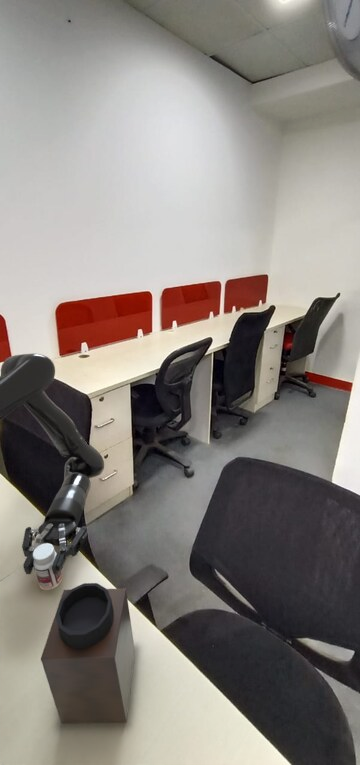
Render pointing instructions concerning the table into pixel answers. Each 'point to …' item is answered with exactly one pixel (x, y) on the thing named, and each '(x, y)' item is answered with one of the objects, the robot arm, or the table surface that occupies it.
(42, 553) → the pill bottle
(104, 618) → the collar
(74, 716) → the stand
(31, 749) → the table surface
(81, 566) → the table surface
